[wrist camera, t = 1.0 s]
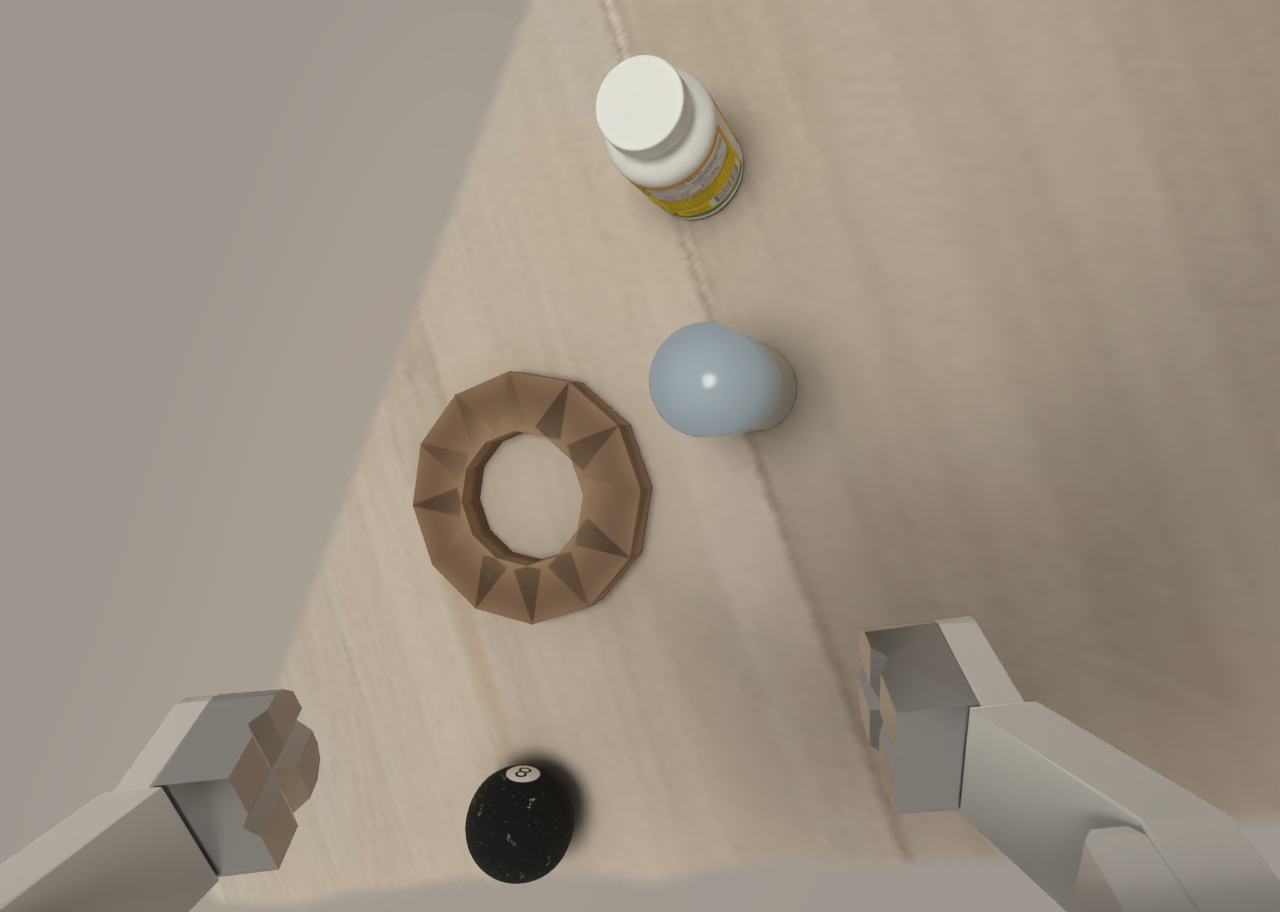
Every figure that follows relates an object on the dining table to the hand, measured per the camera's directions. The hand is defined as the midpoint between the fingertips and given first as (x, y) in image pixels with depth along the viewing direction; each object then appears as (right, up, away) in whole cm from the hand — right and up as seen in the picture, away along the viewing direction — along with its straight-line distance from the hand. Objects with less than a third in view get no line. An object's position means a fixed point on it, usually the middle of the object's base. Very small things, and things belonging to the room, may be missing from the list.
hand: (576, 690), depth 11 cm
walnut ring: (-5, +1, +35) cm, 35 cm away
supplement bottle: (+4, +19, +31) cm, 36 cm away
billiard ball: (-5, -17, +36) cm, 40 cm away
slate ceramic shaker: (+7, +7, +30) cm, 32 cm away
